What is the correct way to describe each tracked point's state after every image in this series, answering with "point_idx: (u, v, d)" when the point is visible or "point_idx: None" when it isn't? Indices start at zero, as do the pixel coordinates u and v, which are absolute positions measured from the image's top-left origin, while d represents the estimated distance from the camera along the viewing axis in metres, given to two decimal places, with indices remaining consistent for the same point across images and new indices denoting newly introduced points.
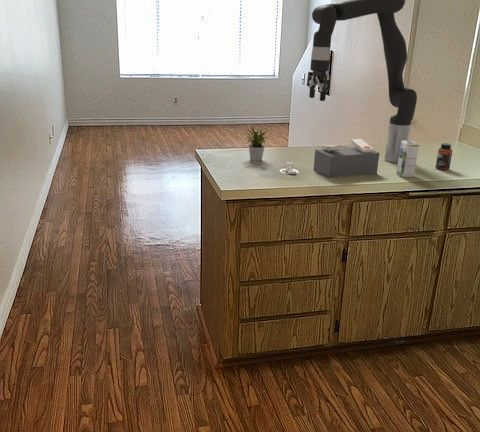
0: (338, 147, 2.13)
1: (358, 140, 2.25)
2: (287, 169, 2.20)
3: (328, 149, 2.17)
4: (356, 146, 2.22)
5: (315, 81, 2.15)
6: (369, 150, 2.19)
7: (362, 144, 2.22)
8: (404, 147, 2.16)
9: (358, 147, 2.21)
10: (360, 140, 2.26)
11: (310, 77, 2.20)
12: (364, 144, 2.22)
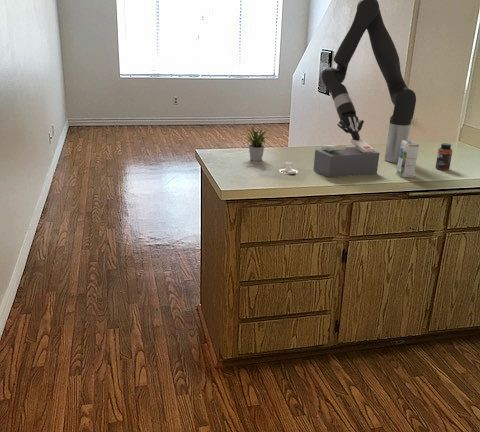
0: (338, 147, 2.13)
1: (358, 140, 2.25)
2: (286, 169, 2.20)
3: (328, 149, 2.17)
4: (356, 146, 2.22)
5: None
6: (369, 150, 2.19)
7: (362, 144, 2.22)
8: (404, 147, 2.16)
9: (358, 147, 2.21)
10: (360, 140, 2.26)
11: (358, 125, 2.30)
12: (364, 144, 2.22)
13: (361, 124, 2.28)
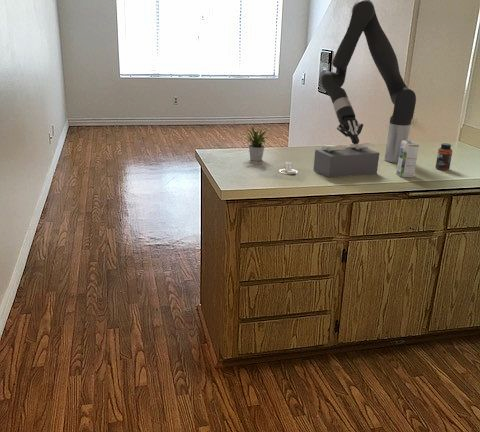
0: (338, 147, 2.13)
1: None
2: (286, 169, 2.20)
3: (328, 149, 2.17)
4: (356, 146, 2.22)
5: None
6: (369, 144, 2.19)
7: None
8: (404, 147, 2.16)
9: (358, 146, 2.21)
10: None
11: (358, 128, 2.31)
12: None
13: (360, 128, 2.29)
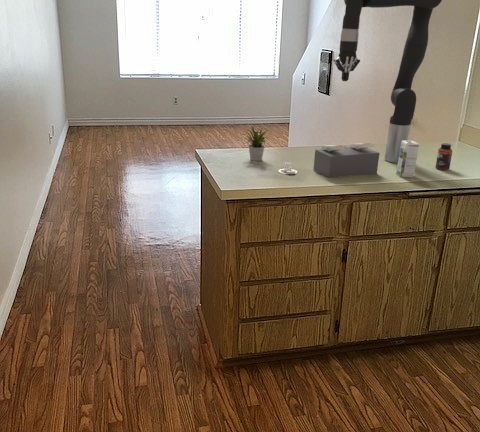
0: (338, 147, 2.13)
1: None
2: (286, 169, 2.20)
3: (328, 149, 2.17)
4: (356, 146, 2.22)
5: None
6: (369, 145, 2.19)
7: None
8: (404, 147, 2.16)
9: (358, 146, 2.21)
10: (359, 143, 2.27)
11: (353, 62, 2.33)
12: None
13: (356, 64, 2.32)
